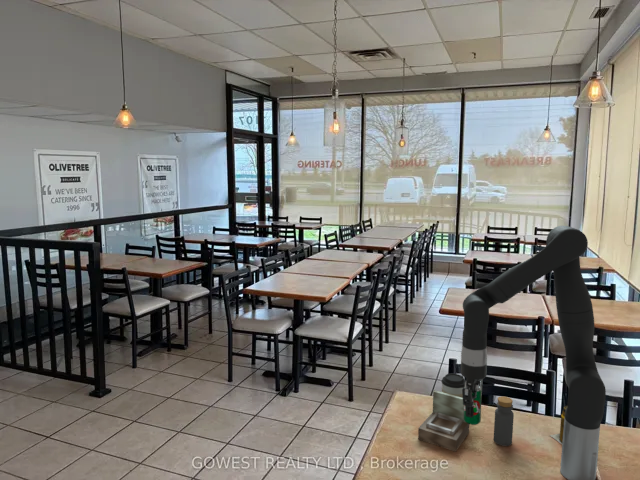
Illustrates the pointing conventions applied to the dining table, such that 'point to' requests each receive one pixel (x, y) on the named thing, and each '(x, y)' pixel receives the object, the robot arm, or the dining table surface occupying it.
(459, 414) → the display stand
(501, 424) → the bottle
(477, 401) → the soda can
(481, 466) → the dining table surface
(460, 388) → the coffee cup
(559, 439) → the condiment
